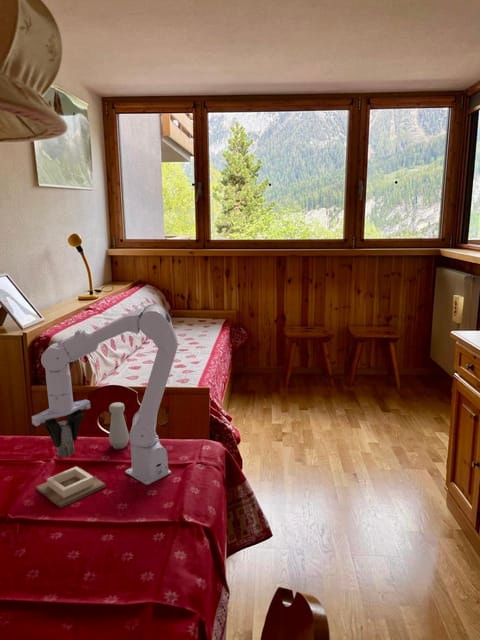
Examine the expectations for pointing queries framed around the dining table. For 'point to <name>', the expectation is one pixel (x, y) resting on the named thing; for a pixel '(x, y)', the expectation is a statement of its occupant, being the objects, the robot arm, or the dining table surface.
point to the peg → (65, 439)
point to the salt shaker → (118, 426)
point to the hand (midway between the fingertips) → (65, 442)
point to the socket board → (70, 486)
